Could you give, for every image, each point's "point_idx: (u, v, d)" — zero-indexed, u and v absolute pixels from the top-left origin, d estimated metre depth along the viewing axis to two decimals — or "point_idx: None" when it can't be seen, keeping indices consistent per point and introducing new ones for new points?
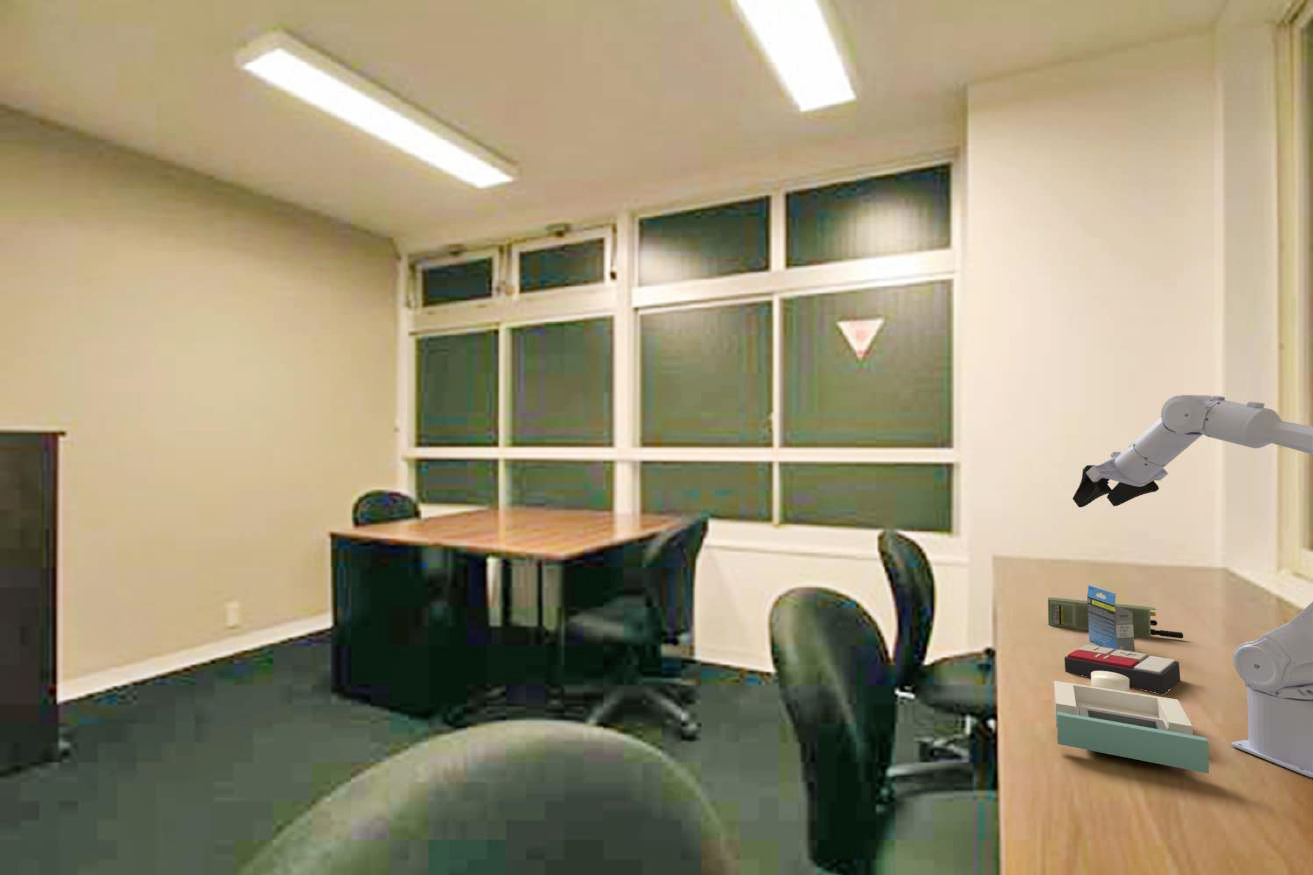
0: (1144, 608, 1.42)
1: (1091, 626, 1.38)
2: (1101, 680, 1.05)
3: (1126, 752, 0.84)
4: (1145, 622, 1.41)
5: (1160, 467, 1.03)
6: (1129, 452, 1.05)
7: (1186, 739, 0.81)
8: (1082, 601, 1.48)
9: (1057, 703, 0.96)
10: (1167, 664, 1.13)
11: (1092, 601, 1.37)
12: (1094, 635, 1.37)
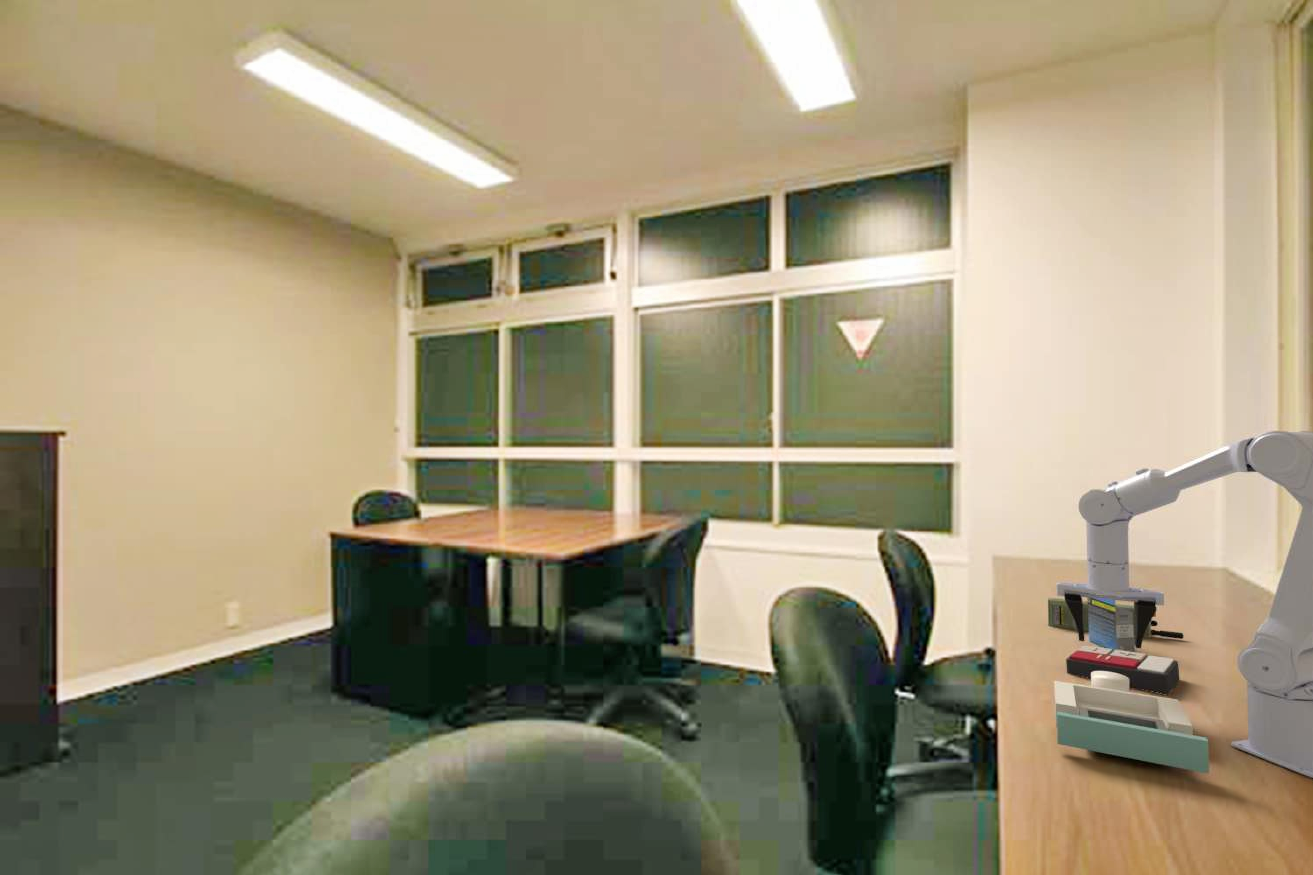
0: None
1: (1091, 626, 1.38)
2: (1101, 680, 1.05)
3: (1126, 752, 0.84)
4: None
5: (1109, 566, 1.04)
6: None
7: (1186, 739, 0.81)
8: (1082, 602, 1.48)
9: (1057, 703, 0.96)
10: (1168, 664, 1.13)
11: (1092, 601, 1.37)
12: (1094, 635, 1.37)
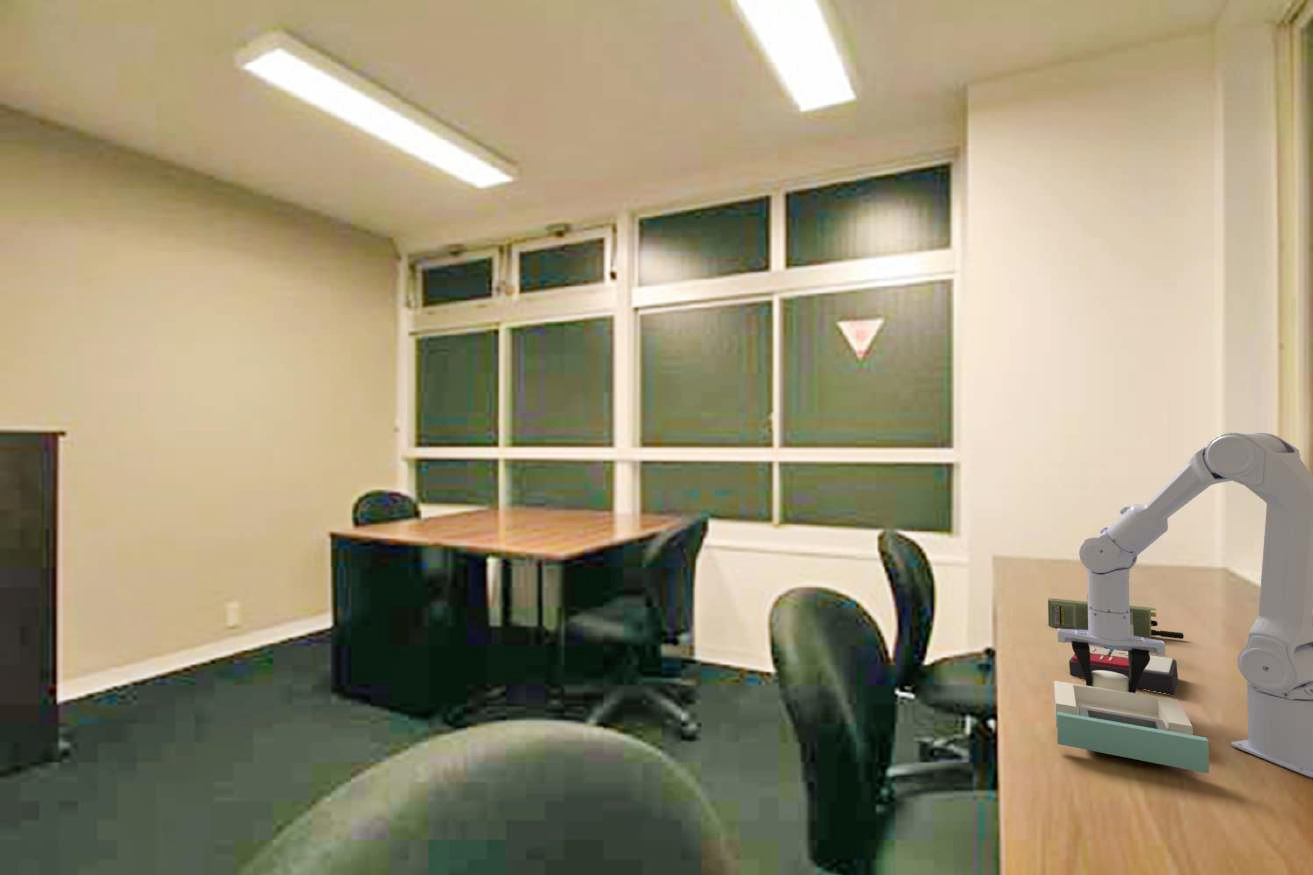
0: (1144, 609, 1.41)
1: None
2: (1101, 679, 1.05)
3: (1126, 752, 0.84)
4: (1146, 623, 1.41)
5: (1110, 615, 1.04)
6: None
7: (1186, 739, 0.81)
8: (1082, 602, 1.48)
9: (1057, 703, 0.96)
10: (1169, 663, 1.13)
11: None
12: None
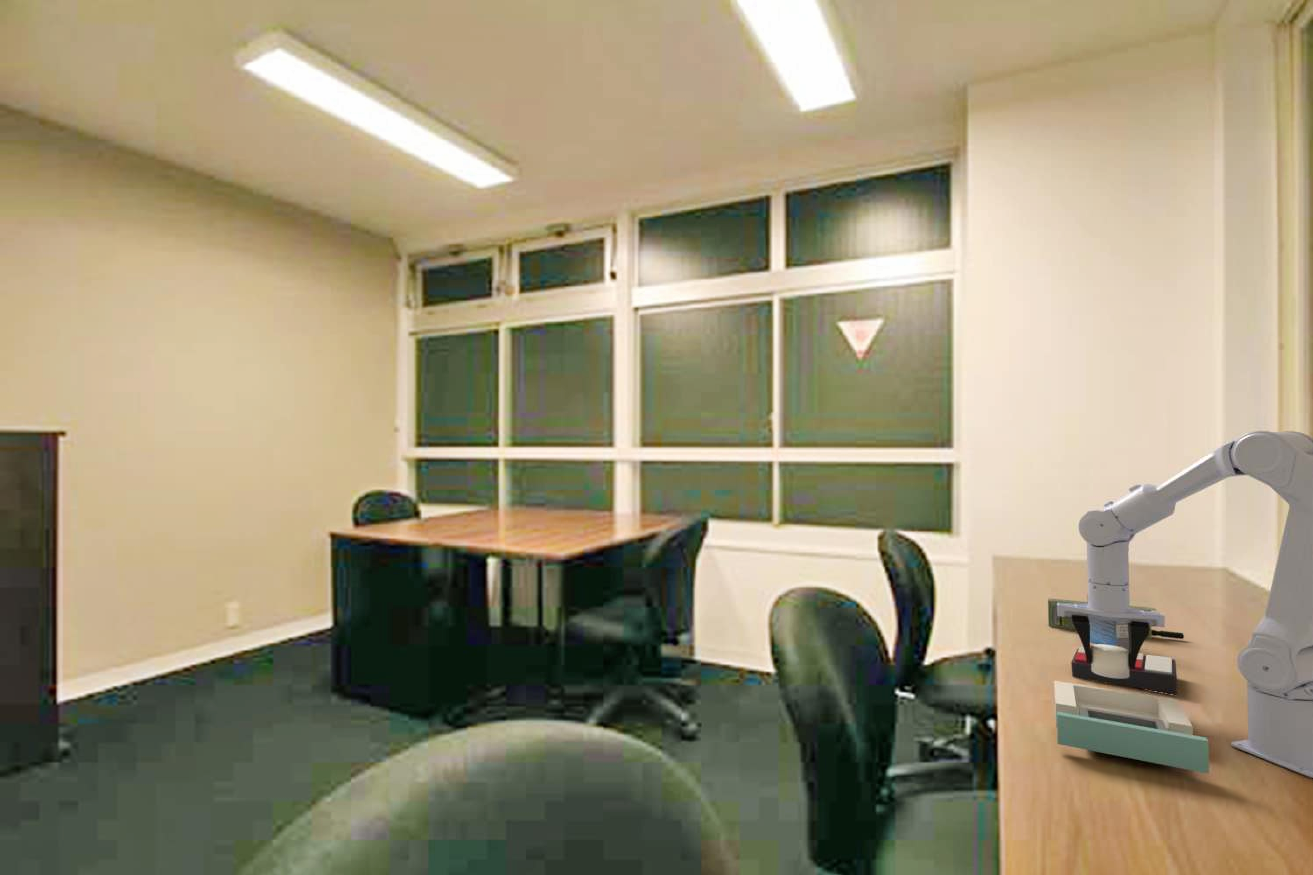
0: (1145, 609, 1.41)
1: (1091, 626, 1.38)
2: (1100, 652, 1.05)
3: (1126, 752, 0.84)
4: None
5: (1109, 587, 1.04)
6: None
7: (1186, 739, 0.81)
8: (1082, 602, 1.47)
9: (1057, 703, 0.96)
10: (1170, 663, 1.13)
11: None
12: (1094, 635, 1.37)
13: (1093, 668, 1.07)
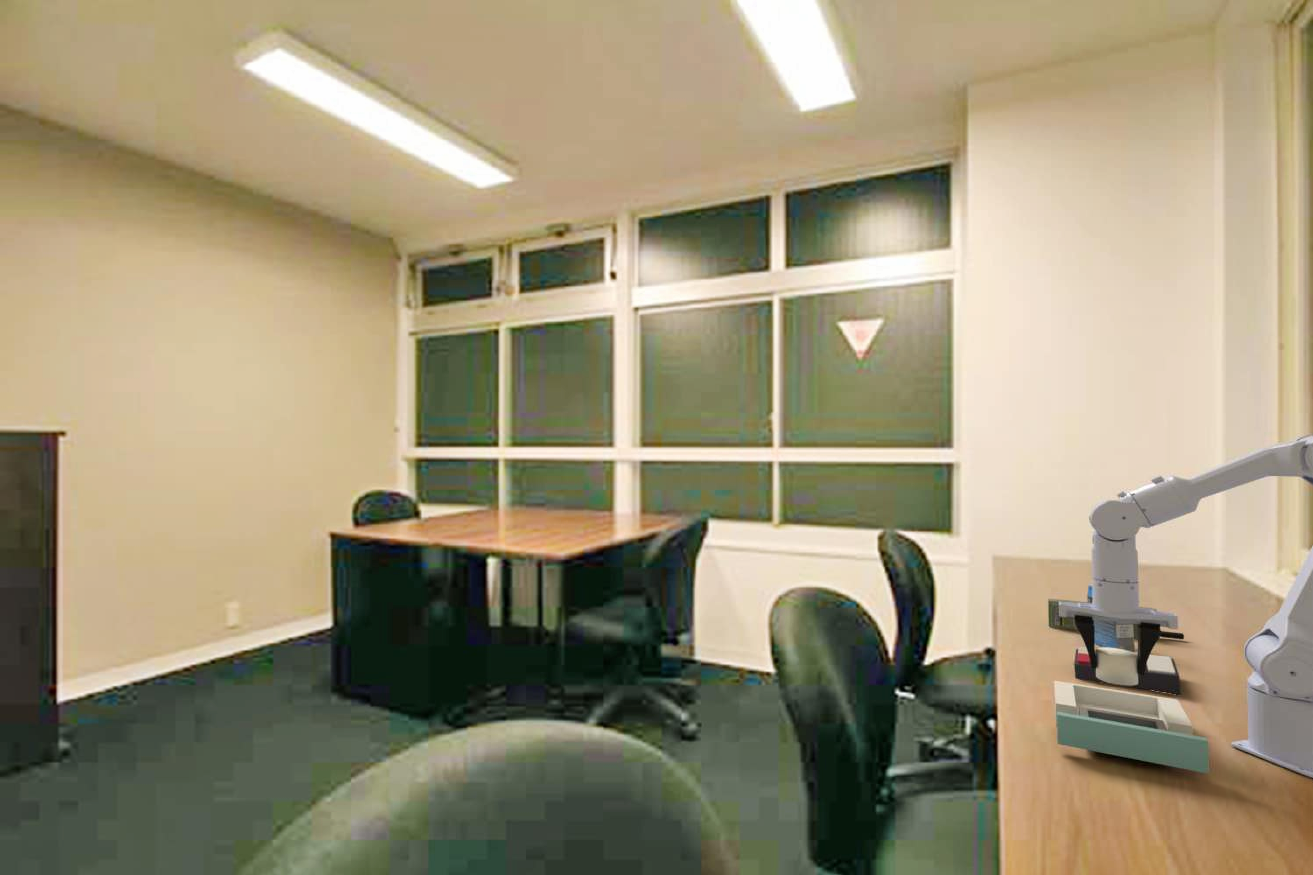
0: None
1: None
2: (1106, 656, 0.95)
3: (1126, 752, 0.84)
4: None
5: (1116, 585, 0.94)
6: None
7: (1186, 739, 0.81)
8: (1083, 602, 1.47)
9: (1057, 703, 0.96)
10: (1171, 663, 1.13)
11: None
12: None
13: (1098, 674, 0.97)
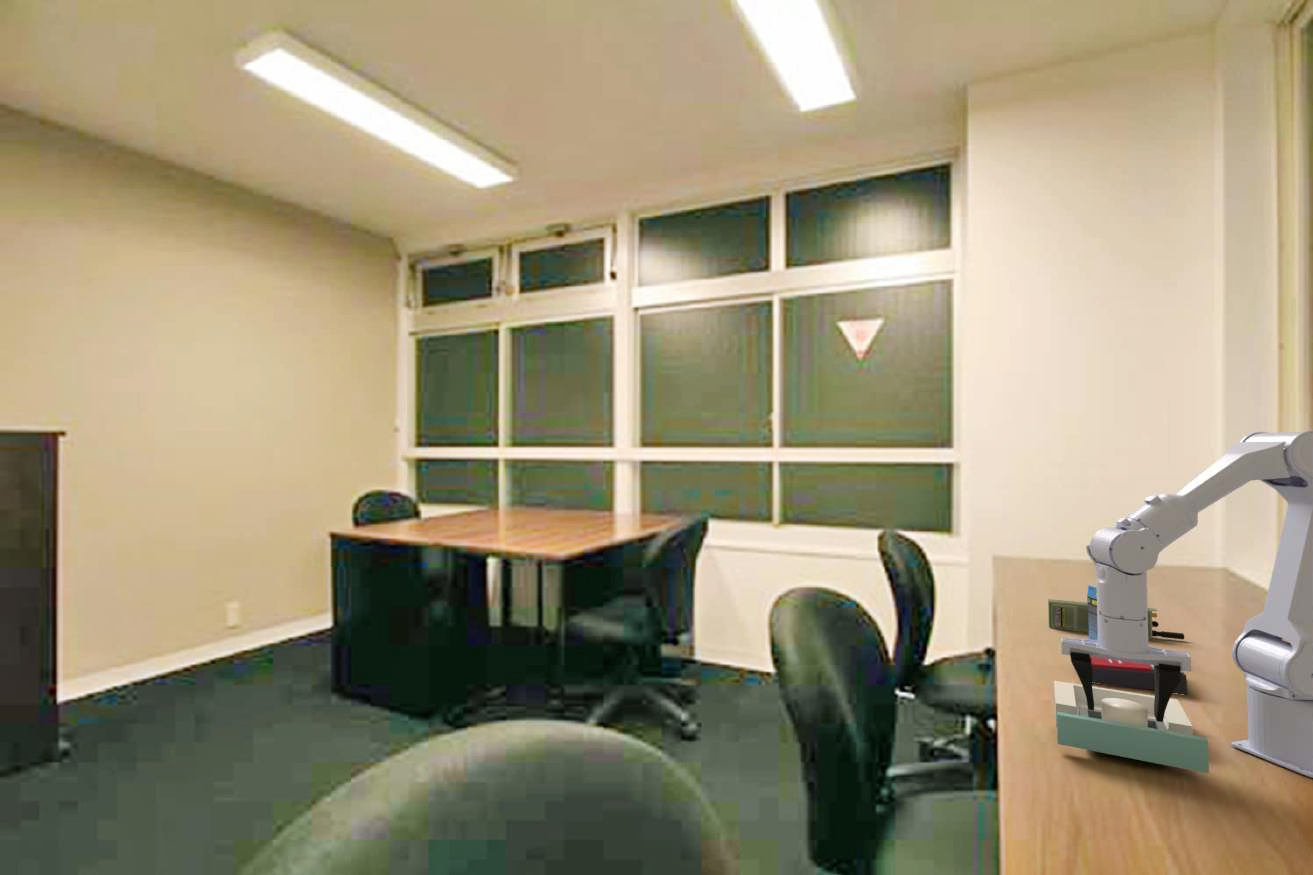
0: None
1: (1091, 626, 1.38)
2: (1113, 710, 0.88)
3: (1126, 752, 0.84)
4: None
5: (1124, 622, 0.87)
6: None
7: (1186, 739, 0.81)
8: (1083, 603, 1.47)
9: (1057, 703, 0.96)
10: None
11: (1092, 601, 1.37)
12: (1094, 635, 1.37)
13: None
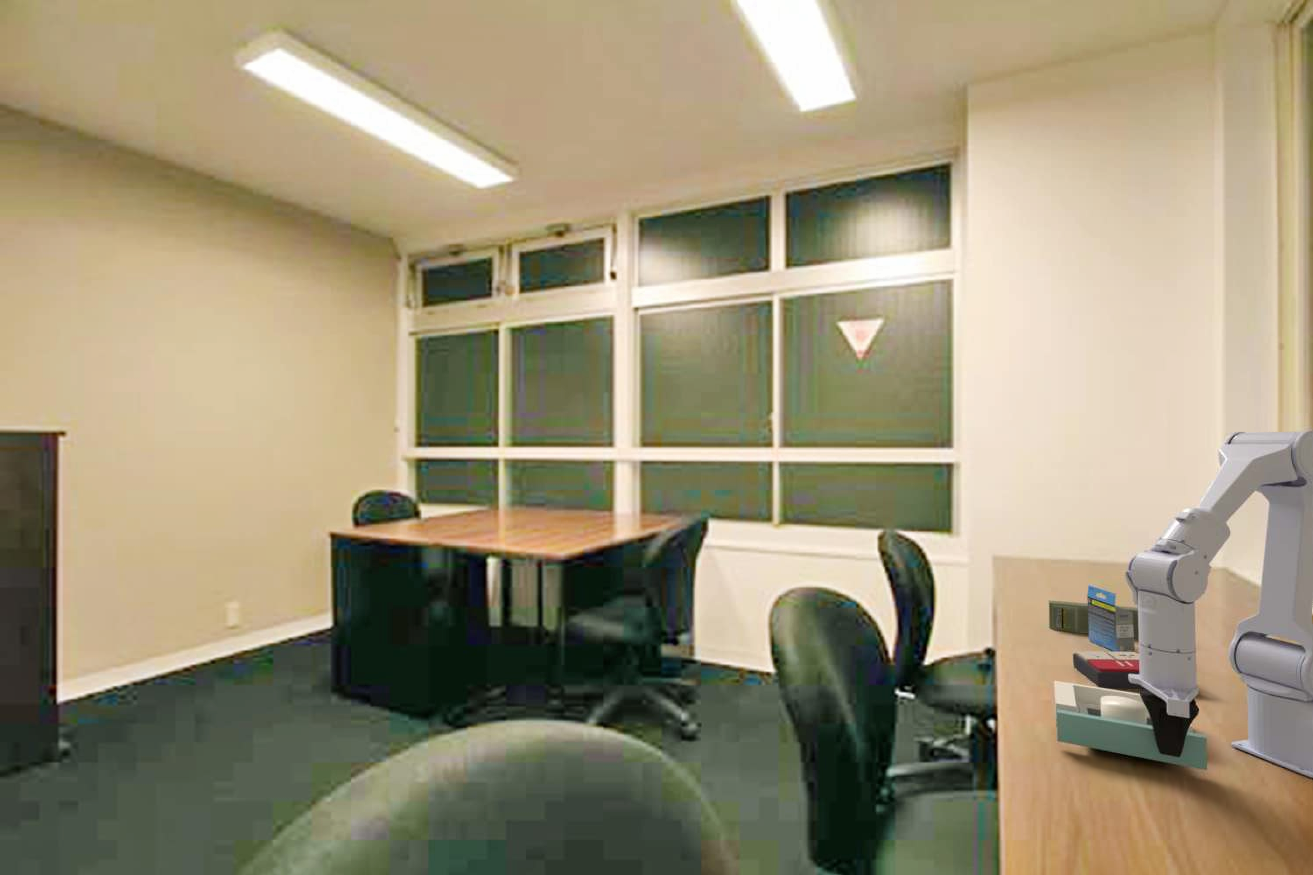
0: None
1: (1091, 626, 1.38)
2: (1112, 707, 0.88)
3: (1125, 749, 0.85)
4: None
5: None
6: (1161, 659, 0.80)
7: None
8: (1084, 604, 1.46)
9: (1057, 703, 0.96)
10: None
11: (1092, 601, 1.37)
12: (1094, 635, 1.37)
13: None
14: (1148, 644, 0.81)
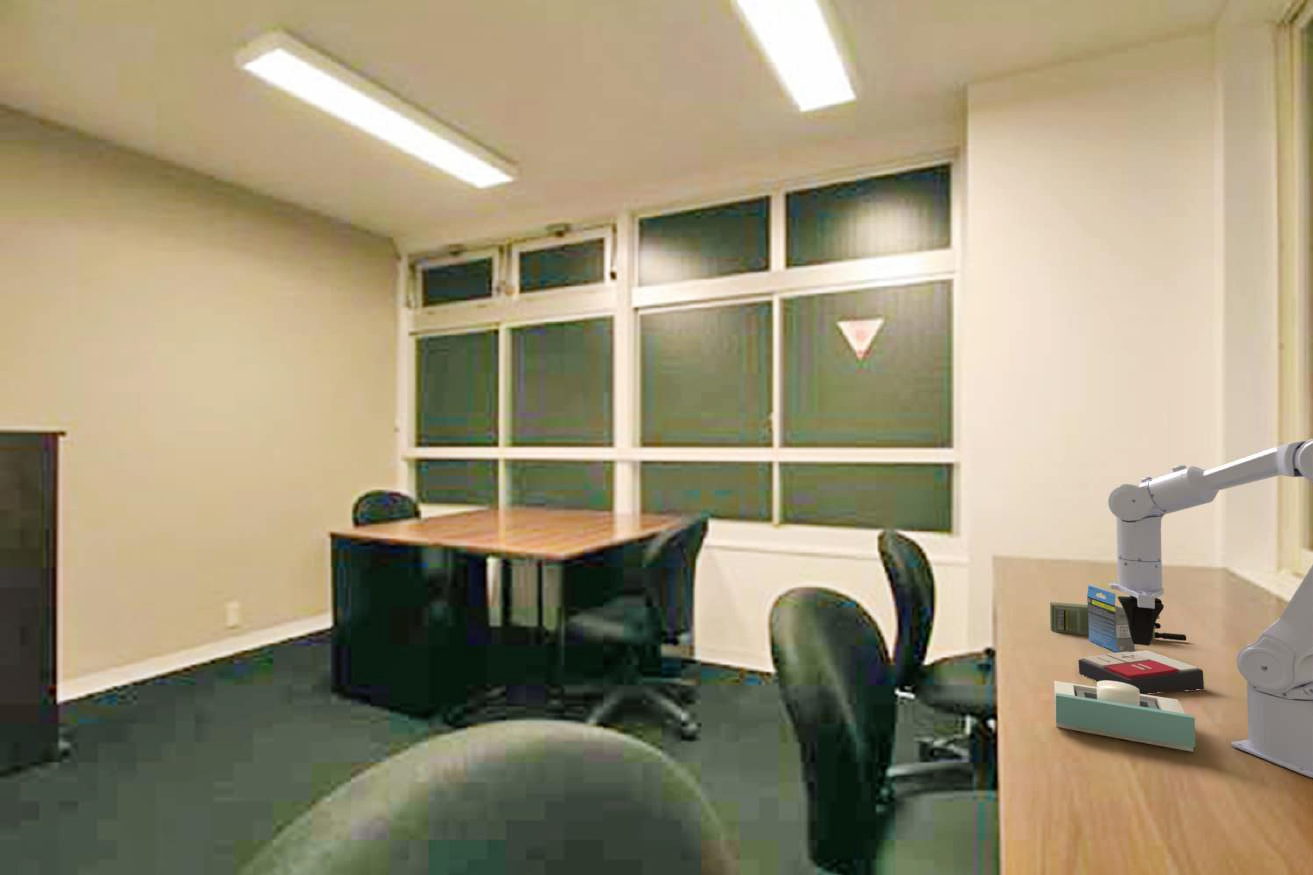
0: None
1: (1091, 626, 1.38)
2: (1107, 691, 0.95)
3: (1119, 729, 0.91)
4: None
5: None
6: (1134, 567, 1.01)
7: (1175, 717, 0.88)
8: (1086, 605, 1.44)
9: None
10: (1167, 657, 1.17)
11: (1092, 601, 1.37)
12: (1094, 635, 1.37)
13: None
14: None
